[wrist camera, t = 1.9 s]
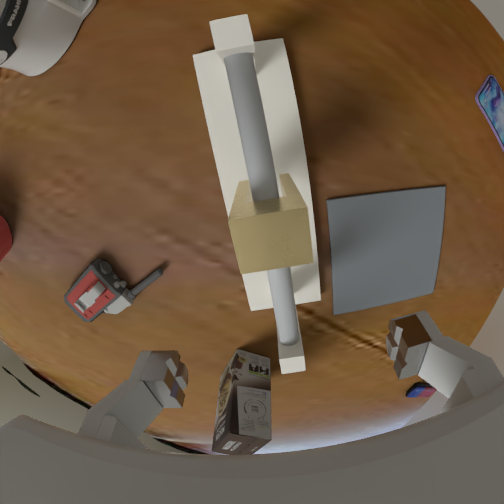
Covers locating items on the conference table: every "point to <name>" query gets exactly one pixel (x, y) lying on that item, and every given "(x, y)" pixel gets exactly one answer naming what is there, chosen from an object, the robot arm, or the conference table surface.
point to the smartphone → (492, 106)
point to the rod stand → (260, 157)
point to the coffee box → (243, 405)
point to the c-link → (270, 229)
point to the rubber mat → (384, 246)
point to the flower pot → (4, 238)
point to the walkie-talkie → (102, 291)
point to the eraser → (420, 390)
